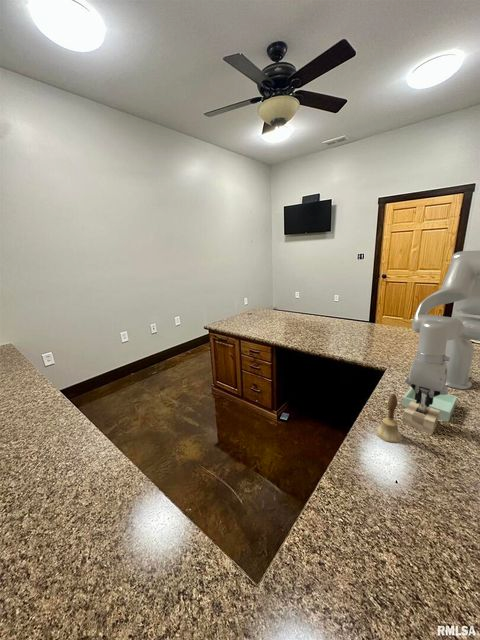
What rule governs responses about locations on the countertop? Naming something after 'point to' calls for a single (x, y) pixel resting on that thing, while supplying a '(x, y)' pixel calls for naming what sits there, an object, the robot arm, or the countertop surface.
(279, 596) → the countertop surface
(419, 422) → the hitch block
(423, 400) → the steel pin
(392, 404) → the hand bell
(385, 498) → the countertop surface
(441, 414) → the tray
